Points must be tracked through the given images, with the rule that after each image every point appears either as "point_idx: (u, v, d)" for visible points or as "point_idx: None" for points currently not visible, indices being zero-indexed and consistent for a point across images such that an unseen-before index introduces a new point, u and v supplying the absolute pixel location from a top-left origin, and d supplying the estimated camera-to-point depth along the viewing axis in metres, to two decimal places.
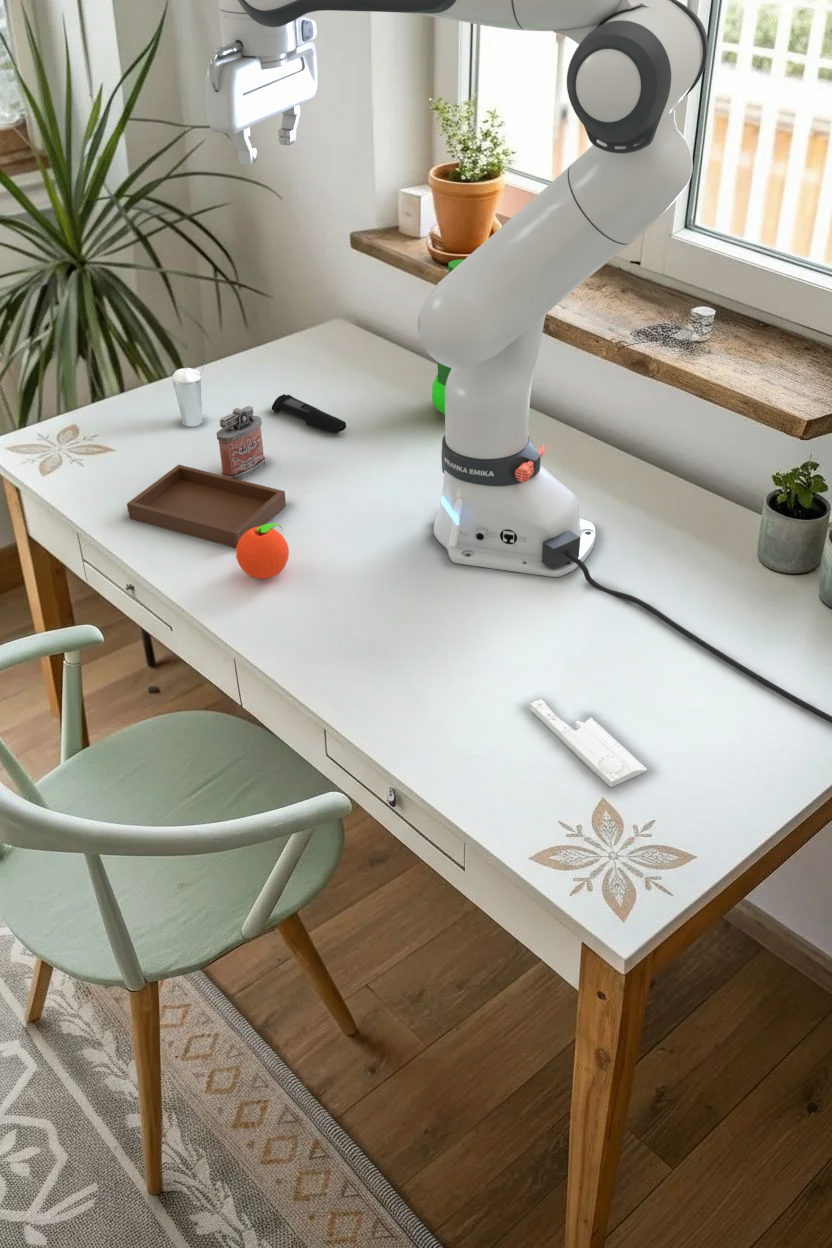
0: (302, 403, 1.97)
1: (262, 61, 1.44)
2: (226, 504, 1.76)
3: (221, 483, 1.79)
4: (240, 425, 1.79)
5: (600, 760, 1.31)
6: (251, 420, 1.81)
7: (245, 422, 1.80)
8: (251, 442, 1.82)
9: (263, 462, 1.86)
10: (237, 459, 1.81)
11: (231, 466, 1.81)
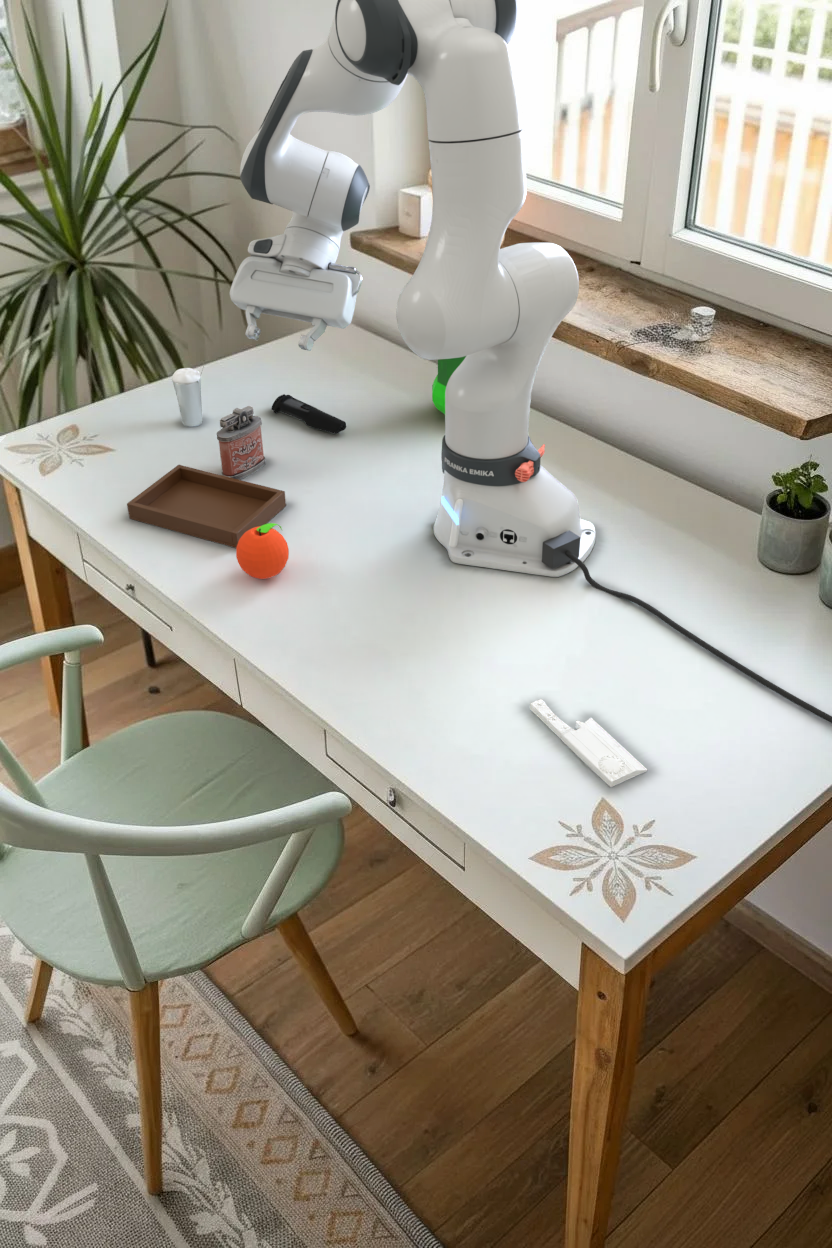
0: (302, 403, 1.97)
1: None
2: (226, 504, 1.76)
3: (221, 483, 1.79)
4: (240, 425, 1.79)
5: (600, 760, 1.31)
6: (251, 420, 1.81)
7: (245, 422, 1.80)
8: (251, 442, 1.82)
9: (263, 462, 1.86)
10: (237, 459, 1.81)
11: (231, 466, 1.81)
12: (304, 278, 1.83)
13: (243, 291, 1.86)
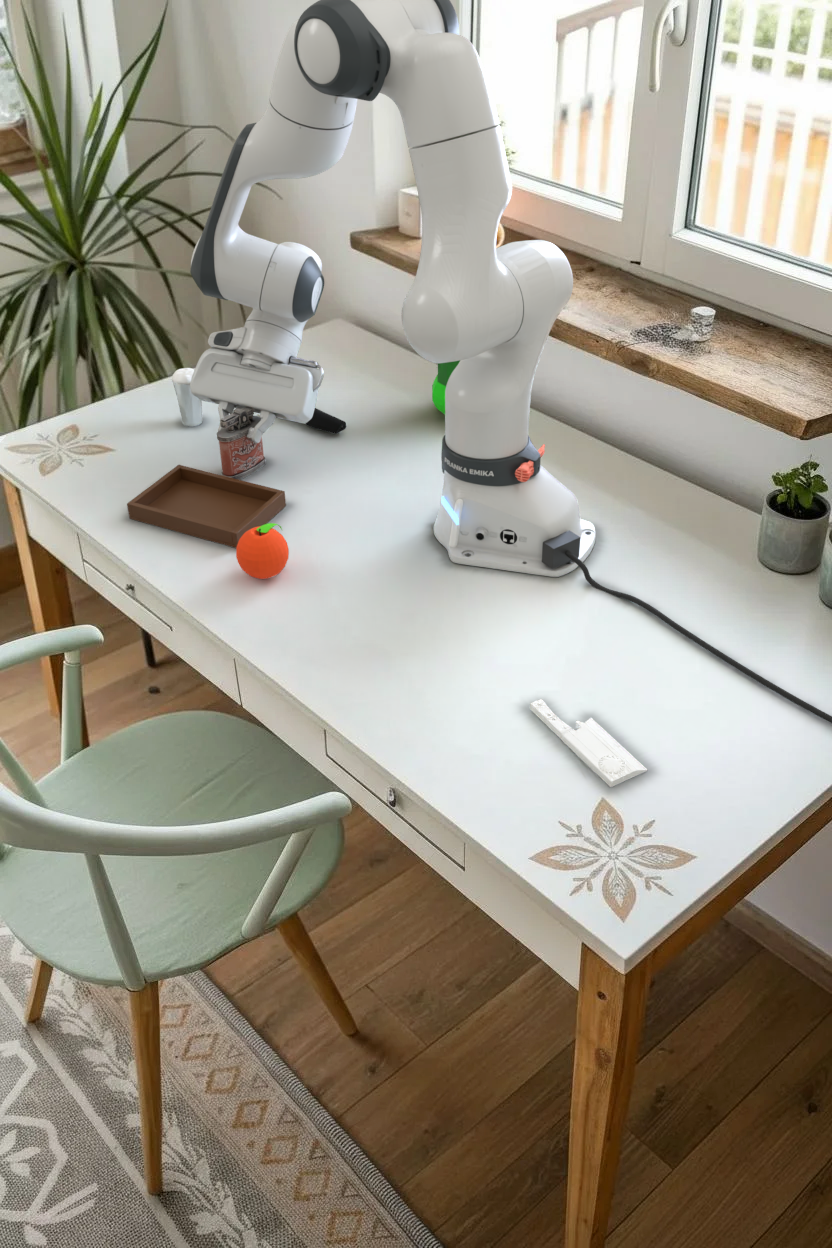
0: None
1: None
2: (226, 504, 1.76)
3: (221, 483, 1.79)
4: (240, 425, 1.79)
5: (600, 760, 1.31)
6: (251, 420, 1.81)
7: (245, 422, 1.80)
8: (251, 442, 1.82)
9: (263, 462, 1.86)
10: (237, 459, 1.81)
11: (231, 466, 1.81)
12: (265, 372, 1.79)
13: (203, 384, 1.83)
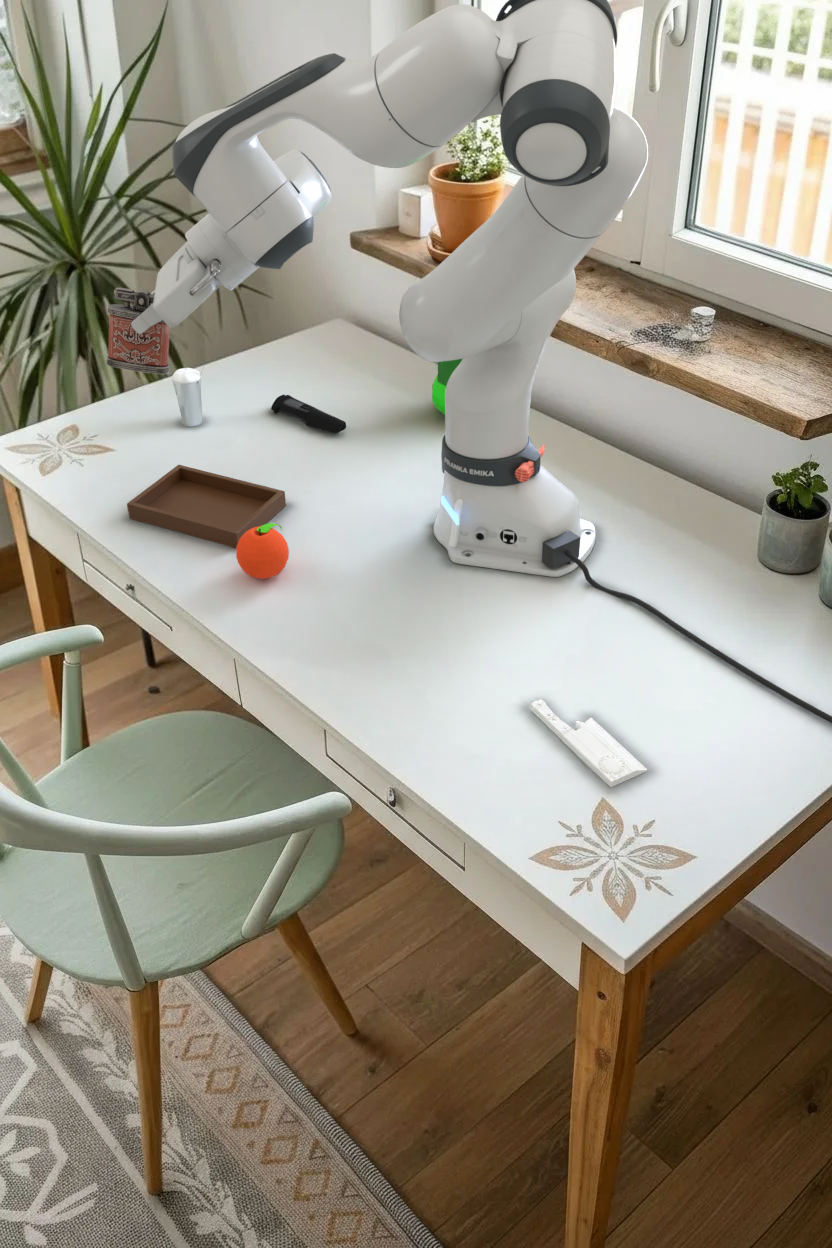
0: (302, 403, 1.97)
1: None
2: (226, 504, 1.76)
3: (221, 483, 1.79)
4: (135, 306, 1.53)
5: (600, 760, 1.31)
6: None
7: (143, 307, 1.53)
8: (142, 333, 1.54)
9: (157, 369, 1.56)
10: (119, 342, 1.55)
11: (111, 347, 1.56)
12: (186, 264, 1.51)
13: (165, 268, 1.60)
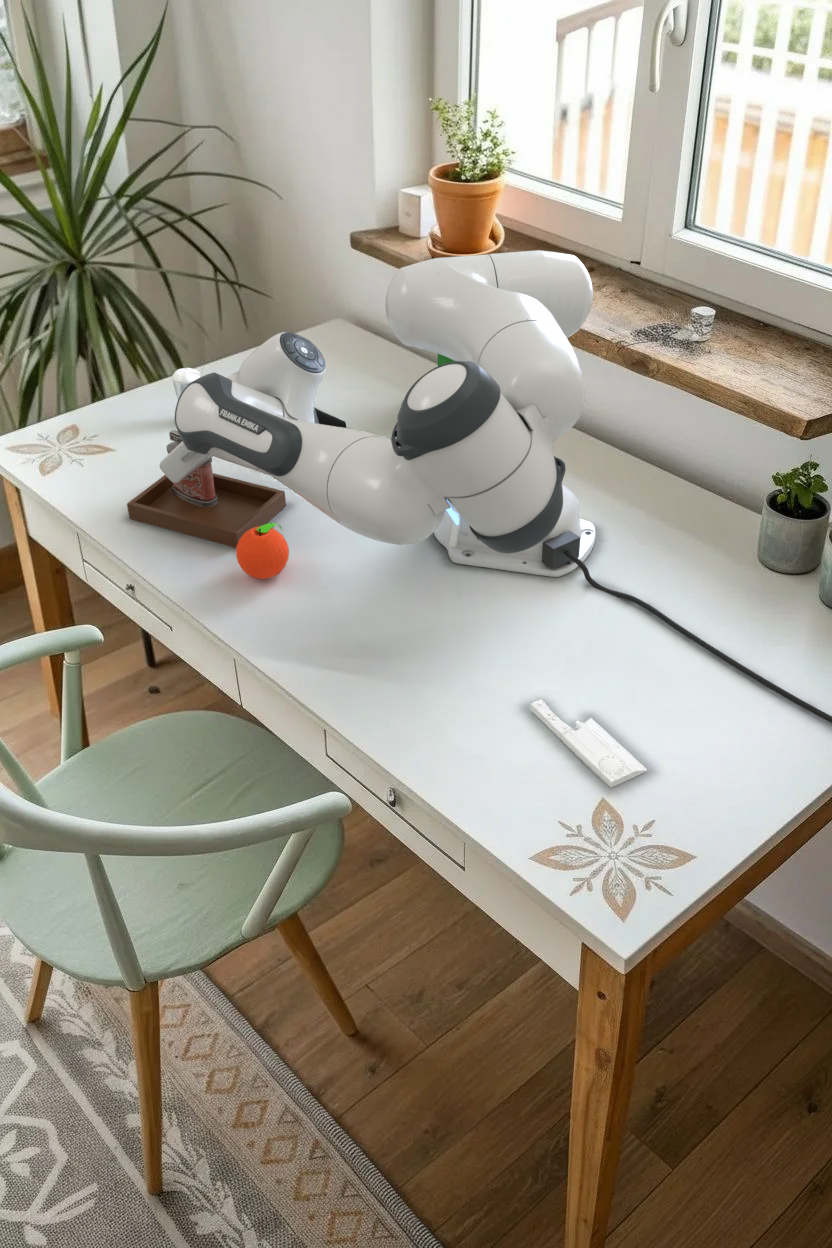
0: None
1: None
2: (226, 504, 1.76)
3: (221, 483, 1.79)
4: None
5: (600, 760, 1.31)
6: None
7: None
8: None
9: (201, 503, 1.75)
10: None
11: None
12: None
13: None
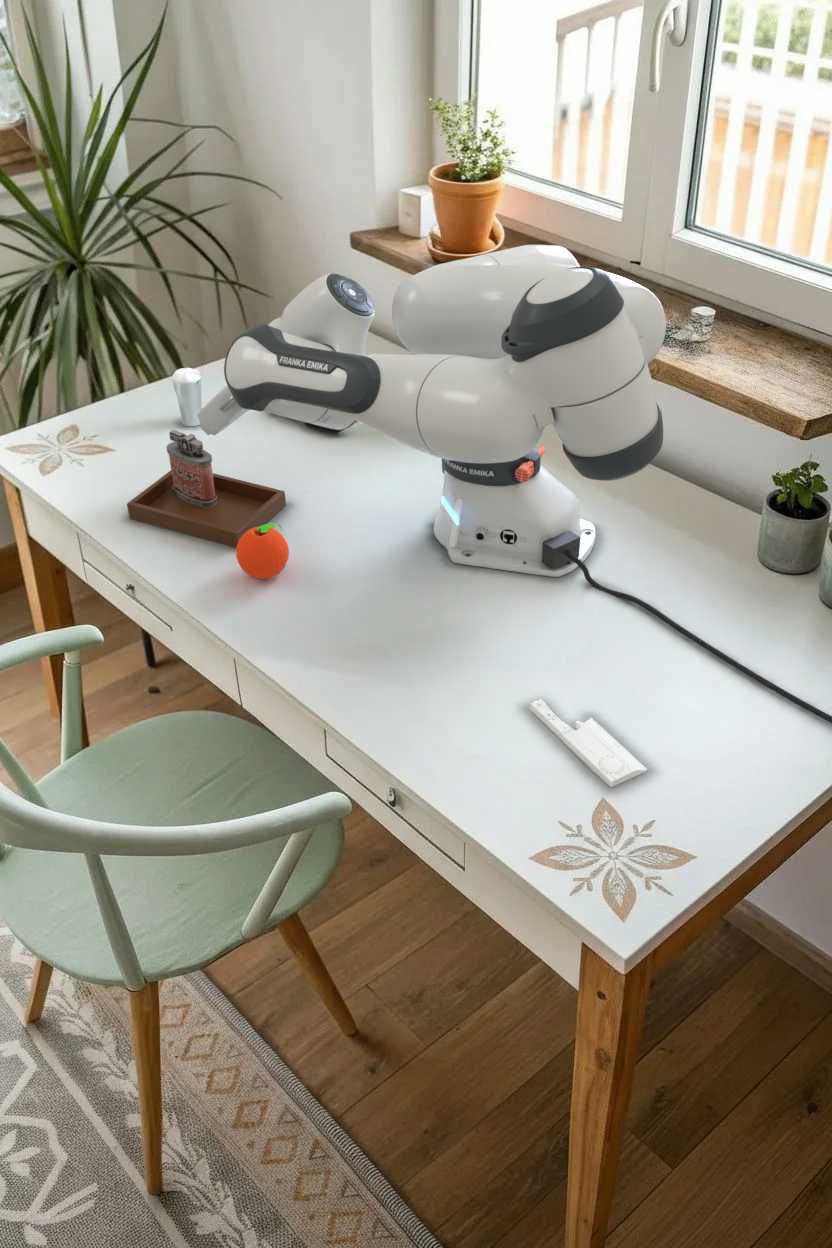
0: None
1: None
2: (226, 504, 1.76)
3: (221, 483, 1.79)
4: (182, 449, 1.73)
5: (600, 760, 1.31)
6: (197, 455, 1.72)
7: (186, 450, 1.72)
8: (187, 472, 1.74)
9: (201, 503, 1.75)
10: (175, 476, 1.76)
11: None
12: None
13: None
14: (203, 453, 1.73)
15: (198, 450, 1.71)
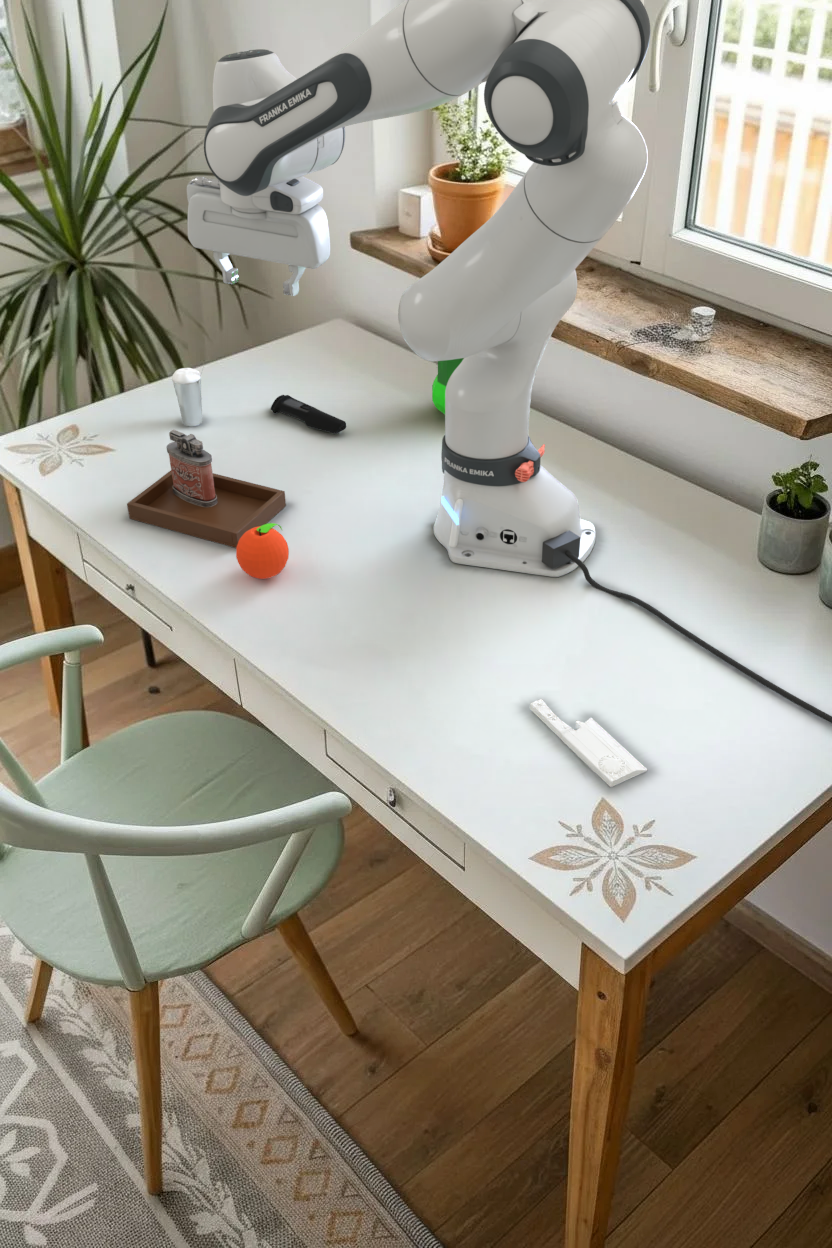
0: (301, 403, 1.97)
1: (230, 205, 1.58)
2: (226, 504, 1.76)
3: (221, 483, 1.79)
4: (182, 449, 1.73)
5: (600, 760, 1.31)
6: (197, 455, 1.72)
7: (186, 450, 1.72)
8: (187, 472, 1.74)
9: (201, 503, 1.75)
10: (175, 476, 1.76)
11: None
12: None
13: None
14: (203, 453, 1.73)
15: (198, 450, 1.71)
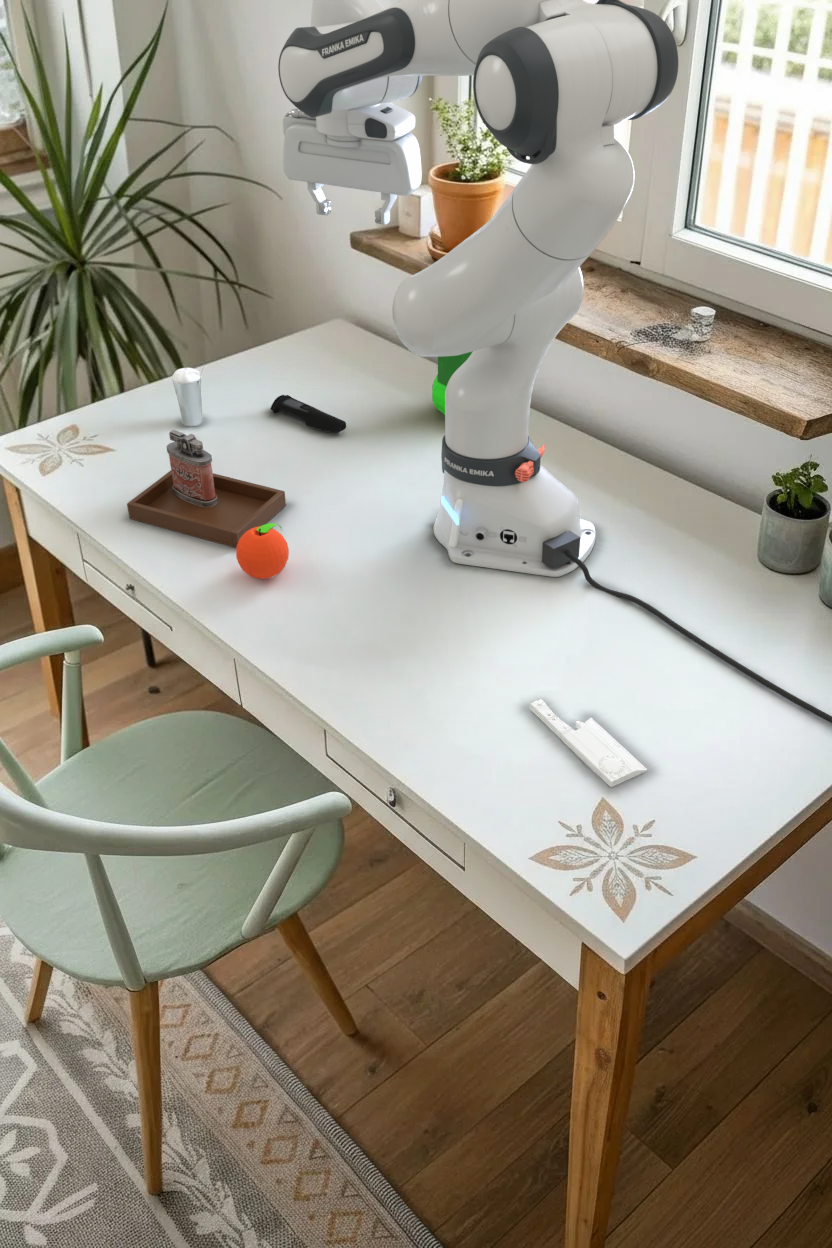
0: (301, 403, 1.97)
1: (325, 135, 1.64)
2: (226, 504, 1.76)
3: (221, 483, 1.79)
4: (182, 449, 1.73)
5: (600, 760, 1.31)
6: (197, 455, 1.72)
7: (186, 450, 1.72)
8: (187, 472, 1.74)
9: (201, 503, 1.75)
10: (175, 476, 1.76)
11: None
12: None
13: None
14: (203, 453, 1.73)
15: (198, 450, 1.71)
